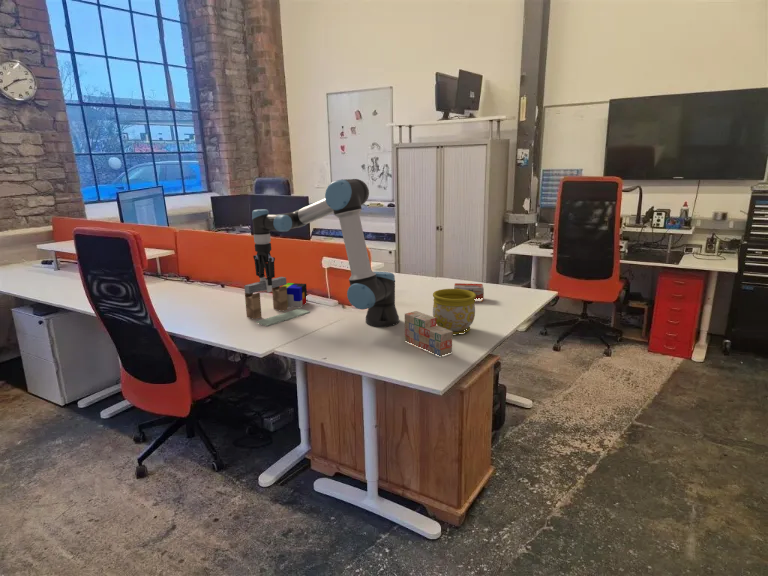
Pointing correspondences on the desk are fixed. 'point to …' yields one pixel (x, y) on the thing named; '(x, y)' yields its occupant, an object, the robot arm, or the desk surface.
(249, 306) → the stand
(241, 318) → the desk surface
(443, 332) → the stack of blocks
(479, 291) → the medicine box
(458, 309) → the flowerpot
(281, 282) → the rail
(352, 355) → the desk surface
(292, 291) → the puzzle toy
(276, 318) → the mat
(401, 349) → the desk surface
